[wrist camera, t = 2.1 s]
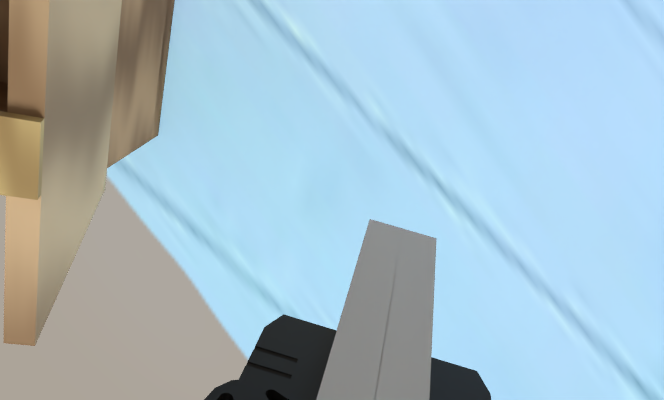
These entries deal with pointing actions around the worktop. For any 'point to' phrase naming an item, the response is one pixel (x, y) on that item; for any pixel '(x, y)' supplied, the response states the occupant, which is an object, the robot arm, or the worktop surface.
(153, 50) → the chest
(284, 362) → the robot arm
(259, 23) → the worktop surface
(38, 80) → the lid
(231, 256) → the worktop surface
